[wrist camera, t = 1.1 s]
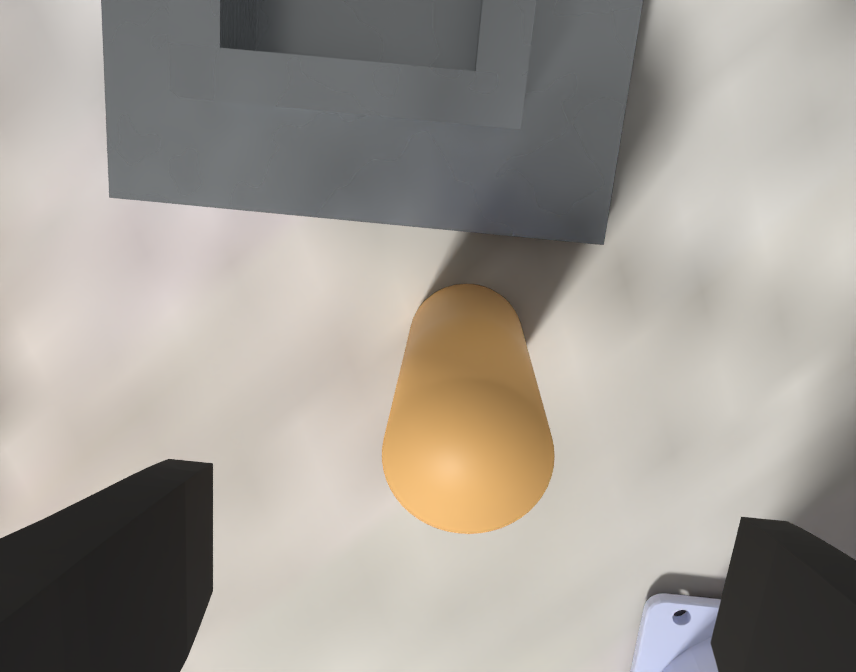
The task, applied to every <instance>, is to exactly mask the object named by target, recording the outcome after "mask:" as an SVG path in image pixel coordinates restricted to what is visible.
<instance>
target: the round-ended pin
mask: <svg viewBox="0 0 856 672" xmlns="http://www.w3.org/2000/svg"><path fill="white" fill-rule="evenodd" d="M382 463H383V470H384V474H385V477H386V480H387V482H388V485H389V487H390V489H391V491H392V492H393V494H394V496H395V497H396V499H397V500H398V501H399V502H400V503H401V505H402V506H403V507H404V508H405V509H406V510H407V511H408V512H409V513H411V514H412V515H413V516H415V517H416V518H418V519H419V520H421V521H423V522H424V523H426V524H428V525H430V526H433V527H435V528H438V529H441V530H445V531H448V532H454V533H465V534H473V533H483V532H489V531H493V530H496V529H499V528H502V527H505V526H507V525H509V524H511V523H513V522H515V521H516V520H518V519H520V518H521V517H522V516H524V515H525V514H526V513H528V512H529V511H530V510H531V509H532V508H533V507H534V506H535V505H536V504H537V502H538V501H539V500H540V498H541V497H542V496H543V494H544V492H545V490H546V489H547V487H548V484H549V482H550V479H551V476H552V472H553V467H554V445H553V440H552V436H551V432H550V428H549V425H548V421H547V418H546V414H545V410H544V407H543V403H542V400H541V396H540V392H539V389H538V385H537V381H536V378H535V374H534V371H533V367H532V363H531V360H530V356H529V352H528V349H527V345H526V342H525V338H524V334H523V331H522V327H521V324H520V321H519V318H518V316H517V314H516V312H515V310H514V309H513V307H512V306H511V304H510V303H509V302H508V301H507V300H506V299H505V298H504V297H502V296H501V295H500V294H498V293H497V292H495V291H493V290H491V289H489V288H487V287H484V286H480V285H475V284H457V285H452V286H448V287H446V288H443V289H441V290H439V291H437V292H435V293H434V294H432V295H431V296H430V297H428V298H427V299H426V300H425V301H424V302H423V303H422V305H421V306H420V307H419V309H418V310H417V312H416V314H415V316H414V318H413V321H412V324H411V327H410V332H409V336H408V340H407V344H406V348H405V352H404V357H403V361H402V365H401V369H400V373H399V377H398V382H397V386H396V390H395V394H394V398H393V402H392V407H391V411H390V415H389V419H388V423H387V427H386V432H385V436H384V440H383V447H382Z"/></svg>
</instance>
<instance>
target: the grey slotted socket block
mask: <svg viewBox="0 0 856 672" xmlns="http://www.w3.org/2000/svg"><path fill="white" fill-rule="evenodd" d="M642 4H643V0H101V6H102V31H103V55H104V80H105V104H106V129H107V153H108V178H109V197H110V198H120V199H131V200H141V201H151V202H162V203H172V204H183V205H193V206H204V207H214V208H224V209H235V210H245V211H256V212H266V213H277V214H287V215H297V216H308V217H318V218H329V219H339V220H349V221H360V222H370V223H381V224H391V225H402V226H412V227H422V228H433V229H443V230H454V231H464V232H475V233H485V234H495V235H506V236H516V237H527V238H537V239H548V240H558V241H568V242H579V243H589V244H600V245H604V239H605V233H606V227H607V221H608V215H609V208H610V202H611V196H612V190H613V184H614V177H615V171H616V165H617V159H618V153H619V147H620V140H621V134H622V128H623V122H624V116H625V109H626V103H627V97H628V91H629V85H630V79H631V72H632V66H633V60H634V54H635V48H636V42H637V35H638V29H639V23H640V17H641V11H642Z"/></svg>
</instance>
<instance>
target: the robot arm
mask: <svg viewBox="0 0 856 672" xmlns="http://www.w3.org/2000/svg"><path fill="white" fill-rule="evenodd" d="M212 592H213V463H204V462H194V461H184V460H174V459H168V460H165V461H162V462H160V463H157V464H155V465H152V466H150V467H148V468H146V469H144V470H141V471H139V472H137V473H135V474H133V475H131V476H129V477H127V478H125V479H123V480H121V481H119V482H117V483H115V484H113V485H111V486H109V487H107V488H105V489H103V490H101V491H99V492H97V493H95V494H93V495H91V496H89V497H87V498H85V499H83V500H81V501H79V502H77V503H75V504H73V505H71V506H69V507H67V508H65V509H63V510H61V511H59V512H57V513H55V514H53V515H51V516H49V517H47V518H45V519H42V520H40V521H38V522H36V523H34V524H31V525H29V526H27V527H25V528H23V529H20V530H18V531H16V532H14V533H12V534H9V535H7V536H5V537H3V538H0V672H180V671H181V669H182V667H183V665H184V663H185V661H186V659H187V657H188V655H189V652H190V650H191V647H192V645H193V642H194V640H195V637H196V635H197V632H198V630H199V627H200V625H201V622H202V619H203V616H204V614H205V611H206V608H207V606H208V603H209V600H210V597H211V595H212ZM678 610H686V612H685V614H683V615H681V616H674V613H675V612H677V611H678ZM630 672H856V560H854V559H853V558H851V557H849V556H848V555H846V554H845V553H843V552H841V551H840V550H838V549H836V548H835V547H833V546H831V545H830V544H828V543H826V542H825V541H823V540H821V539H820V538H818V537H816V536H814V535H813V534H811V533H809V532H807V531H805V530H803V529H802V528H800V527H798V526H795V525H793V524H791V523H789V522H787V521H778V520H768V519H758V518H748V517H741V520H740V524H739V528H738V532H737V536H736V540H735V544H734V549H733V553H732V557H731V561H730V565H729V569H728V573H727V577H726V581H725V585H724V589H723V593H722V598H721V599H713V598H704V597H694V596H685V595H675V594H665V593H663V594H656V595H653V596H651V597H650V598H649V599H648V600H647V601H646V603H645V605H644V609H643V613H642V618H641V623H640V628H639V632H638V637H637V642H636V647H635V652H634V656H633V661H632V666H631V671H630Z"/></svg>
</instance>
